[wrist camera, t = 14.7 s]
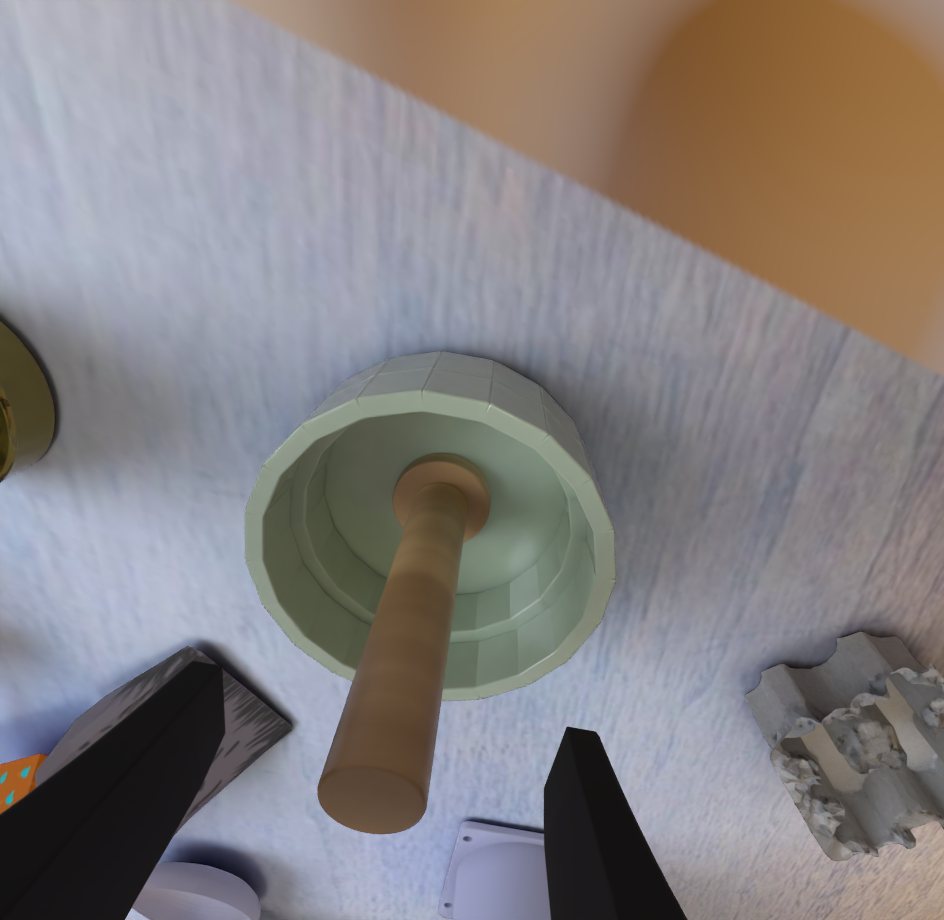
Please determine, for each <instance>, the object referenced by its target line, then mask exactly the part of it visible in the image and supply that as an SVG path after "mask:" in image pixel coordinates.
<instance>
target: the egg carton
mask: <svg viewBox="0 0 944 920" xmlns="http://www.w3.org/2000/svg"><path fill="white" fill-rule="evenodd" d="M836 641H837V644H838V645H837V648H836V651H835V653H834V654H833V655H832V656H831V657H830V658H829V659H828V661H827V662H825V663H823V664H821V665H820V666H815V667H813V668H812V669H801V668H800V669H794V668H789V667H788V666H786V665H784V664H780V665H777V666H775V667H772V668H770V669H767V670H765V671H763V672H761V676H762V678H761V681H760V684H759V685H758V686H757V687H756V688H755V689H754V690H753V691H751V692H750V693H748V694H746V695H745V699H746V701H747V703H748V705H749V707H750V709H751V711H752V713H753V715H754V717H755V719H756V721H757V723H758V725H759V727H760V729H761V731H762V733H763V735H764V737H765V739H766V741H767V742H768V744H769V746H770V747H771V749H772V752H771V755H770V758H771V761H772V764H773V766H774V767H775V769H776V771H777V773H778V774H779V776H780V778H781V780H782V782H783V784H784V785H785V787H786V789H787V790H788V792H789V794H790V795H791V797H792V799H793V801H794V804H795V805H796V806H797V808H798V809H799V811H800V813H801V815H802V817H803V818H804V820H805V822H806V823H807V825H808V827H809V829H810V831H811V833H812V834H813V836H814V837H815V839H816V840H817V842H818V843H819V845H820V846H821V848H822V850H823V851H824V853H825V854H826V855H827V856H828V857H829V858H830V859H831V860H834V861H842V860H848V859H850V858H851V857H852V856H853V855H855V854H867V855H873V856H875V857H878V856H879V854H878V850H877V849H879V848H881V847H883V846H884V845H888V844H892V843H894V844H901V845H903V846H904V847H906V848H907V849H912V848H913V847H915V846H916V839H915V837H914V836H913V834H912V833H911V831H910V830H911V829H912V828H914V827H918V826H921V825H924V824H927V823H930V822H932V821H935V820H936V821H938V822H939V823H940V824H941V825H942V827H943V829H944V678H943V677H942V675H941V674H940V673H939V671H938V670H937V669H936V667H935V666H934V665H932V664H931V663H929V668H928V669H927V668H925V667H924V666H923V665H921V664H920V663H918V662H917V661H916V660H915V659H914V658H913V656H912V655H911V653H910V652H909V650H908V649H907V648H906V646H905V644H904V643H903V642H902V641H901V640H900V639H899V638H898V637H896V636H894V637H884V638H879V637H873V636H870V635H869V634H867V633H864V632H858V633H854V634H852V635H849V636H846V637H842V638H838V639H837V640H836Z"/></svg>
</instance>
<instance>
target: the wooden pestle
mask: <svg viewBox="0 0 944 920" xmlns="http://www.w3.org/2000/svg"><path fill="white" fill-rule="evenodd" d="M490 501H491V494H490V489H489V485H488V483H487V481H486V479H485V477H484V475H483V474H482V473H481V471H480V470H479V469H478V468H477V467H476V466H474V465H473V464H472V463H470V462H469V461H467V460H465V459H464V458H461V457H459V456H456V455H452V454H445V453H436V454H429V455H425V456H422V457H420V458H418V459H416V460H414V461H413V462H411V463H410V464H409V465H408V466H407V467H406V468H405V469H404V470H403V471H402V473H401V474H400V476H399V478H398V480H397V483H396V485H395V488H394V491H393V496H392V505H393V510H394V514H395V516H396V519H397V520H398V522H399V524H400V525H401V526H402V528H403V529H404V530H403V533H402V536H401V539H400V542H399V545H398V548H397V551H396V554H395V557H394V560H393V563H392V566H391V569H390V572H389V575H388V578H387V581H386V584H385V587H384V590H383V593H382V596H381V599H380V602H379V605H378V608H377V611H376V614H375V617H374V620H373V623H372V626H371V629H370V632H369V635H368V638H367V641H366V644H365V647H364V650H363V653H362V656H361V659H360V662H359V665H358V667H357V670H356V673H355V676H354V679H353V682H352V685H351V688H350V691H349V694H348V697H347V700H346V703H345V706H344V709H343V712H342V715H341V718H340V721H339V724H338V727H337V730H336V733H335V736H334V739H333V742H332V745H331V748H330V751H329V754H328V757H327V760H326V763H325V766H324V769H323V772H322V775H321V778H320V781H319V784H318V799H319V802H320V804H321V806H322V808H323V809H324V811H325V812H326V813H327V814H328V815H329V816H330V817H331V818H333V819H334V820H335V821H337V822H338V823H340V824H342V825H344V826H346V827H348V828H351V829H353V830H357V831H360V832H365V833H371V834H391V833H397V832H401V831H404V830H407V829H409V828H411V827H412V826H414V825H415V824H417V823H418V822H419V821H420V819H421V818H422V816H423V815H424V813H425V811H426V808H427V801H428V793H429V786H430V779H431V772H432V765H433V757H434V750H435V743H436V736H437V728H438V721H439V714H440V707H441V700H442V692H443V685H444V678H445V671H446V664H447V656H448V649H449V642H450V635H451V627H452V620H453V613H454V606H455V599H456V591H457V584H458V577H459V570H460V563H461V555H462V548H463V543H464V542H466V541H468V540H470V539H471V538H473V537H474V536H475V535H477V534H478V533H479V532H480V531H481V530H482V528H483V527H484V525H485V524H486V522H487V519H488V516H489V512H490Z"/></svg>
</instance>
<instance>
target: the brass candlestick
mask: <svg viewBox="0 0 944 920" xmlns="http://www.w3.org/2000/svg"><path fill="white" fill-rule="evenodd" d="M54 427H55V411H54V404H53V399H52V395H51V392H50V389H49V386H48V384H47V381H46V379H45V377H44V375H43V373H42V371H41V369H40V367H39V365H38V364H37V362H36V361H35V359H34V358H33V356H32V355H31V353H30V352H29V351H28V349H27V348H26V347H25V345H24V344H23V343H22V342H21V341H20V340H19V338H18V337H17V336H16V335H15V334H14V333H13V332H12V331H11V330H10V329H9V328H8V327H6V326H5V325H4V324H3V323H2V322H1V321H0V482H1V481H3V480H5V479H7V478H9V477H11V476H13V475H15V474H16V473H18V472H20V471H22V470H24V469H26V468H28V467H30V466H32V465H33V464H34V463H36V462H37V461H38V460H39V459H40V458H41V457H42V456H43V455H44V453H45V452H46V450H47V449H48V447H49V445H50V443H51V440H52V437H53V433H54Z"/></svg>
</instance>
